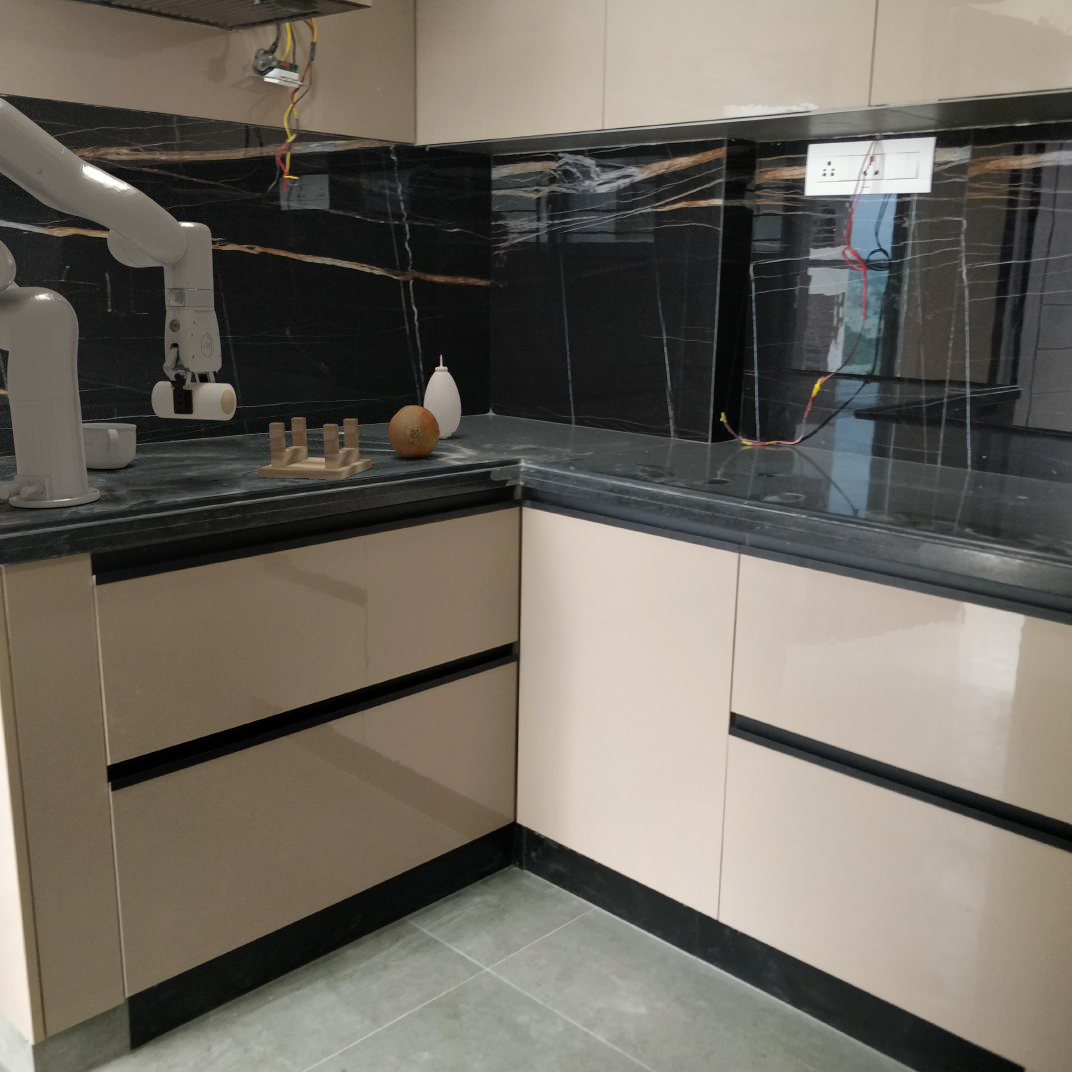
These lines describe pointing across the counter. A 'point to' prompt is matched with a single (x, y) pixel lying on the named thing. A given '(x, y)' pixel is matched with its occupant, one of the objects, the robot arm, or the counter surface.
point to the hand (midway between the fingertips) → (194, 411)
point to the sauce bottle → (443, 401)
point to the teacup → (109, 444)
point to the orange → (414, 432)
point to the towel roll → (197, 401)
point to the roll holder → (301, 466)
